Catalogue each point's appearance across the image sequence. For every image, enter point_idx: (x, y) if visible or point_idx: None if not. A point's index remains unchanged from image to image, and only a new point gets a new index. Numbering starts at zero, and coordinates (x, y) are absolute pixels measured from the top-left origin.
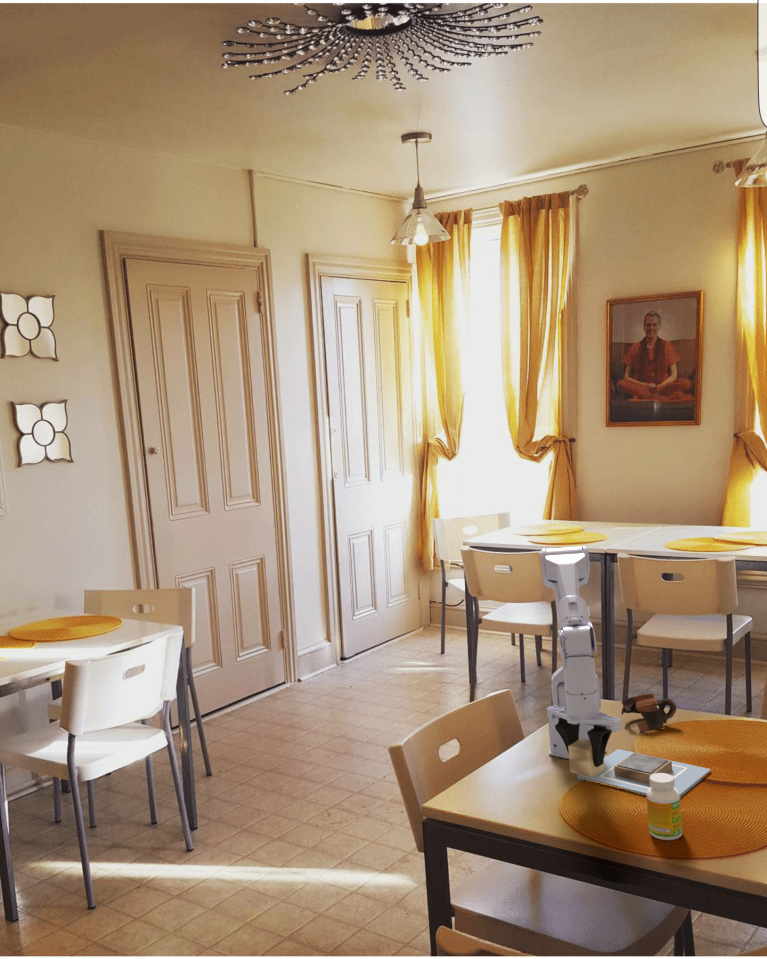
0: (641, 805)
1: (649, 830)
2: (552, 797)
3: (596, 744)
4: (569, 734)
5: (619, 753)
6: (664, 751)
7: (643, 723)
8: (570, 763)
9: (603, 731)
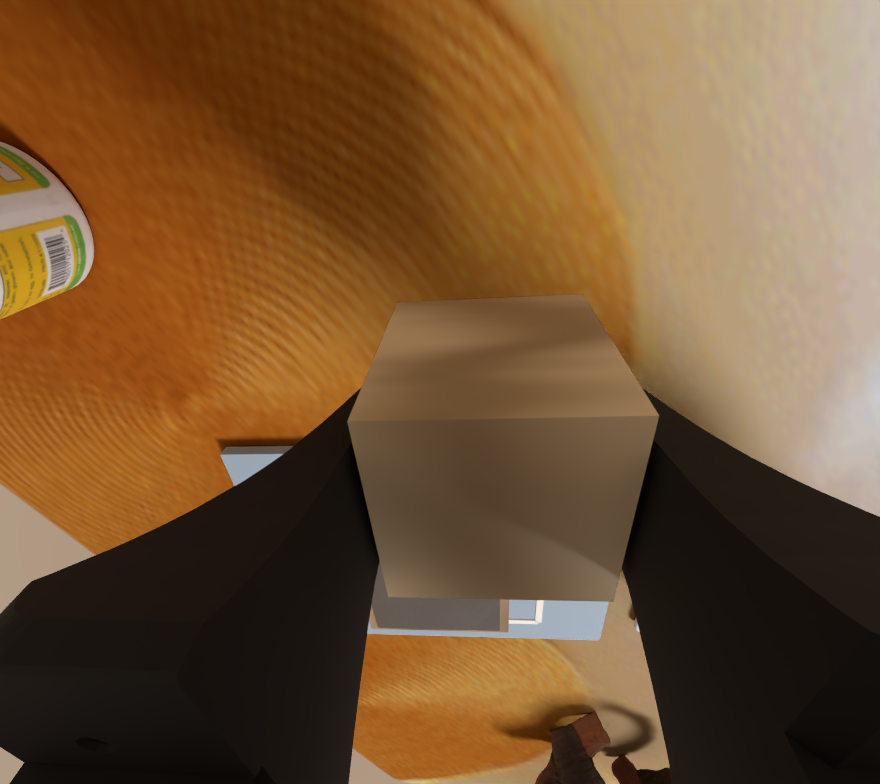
0: (289, 379)
1: (29, 163)
2: (676, 222)
3: (226, 504)
4: (716, 577)
5: (580, 623)
6: (478, 664)
7: (592, 745)
8: (590, 321)
9: (8, 748)
